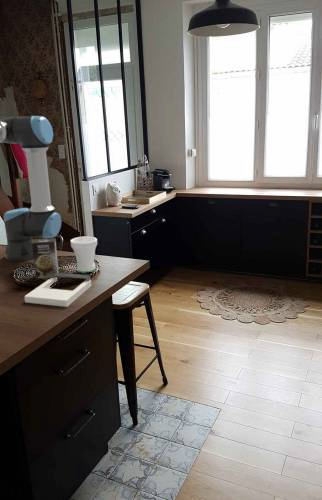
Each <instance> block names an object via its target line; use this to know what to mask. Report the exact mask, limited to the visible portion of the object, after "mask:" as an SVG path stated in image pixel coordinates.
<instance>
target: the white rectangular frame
mask: <svg viewBox="0 0 322 500" xmlns="http://www.w3.org/2000/svg"><path fill="white" fill-rule="evenodd" d="M56 281H58V278H57V277H56V278H50V279H46V280H45V281H44V282H43V283H41V284H40V285H39V286H37V287H35V288H34V289H33V290H31V291H30V292H29V293H27V294H26V295H25V294H24V303H30V304H37V305H38V304H39V305H48V306H55V307H57V306H58V307H65V308H68V307H69V306H70V305H71V304H72V303H73V302H75V301H76V300H77V299H78V298H80V297H81V296H82V295H83V294H84V293H85V292H86V291H87V290H89V289H90V288H91V287H92V280H91V279H90V281H86V280H84V281H83V282H81V284H79V285H78V286H76V288H74V289H73V290H69V289H58V288H52V287H50V286H51V285H52V284H53V283H54V282H56Z"/></svg>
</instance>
